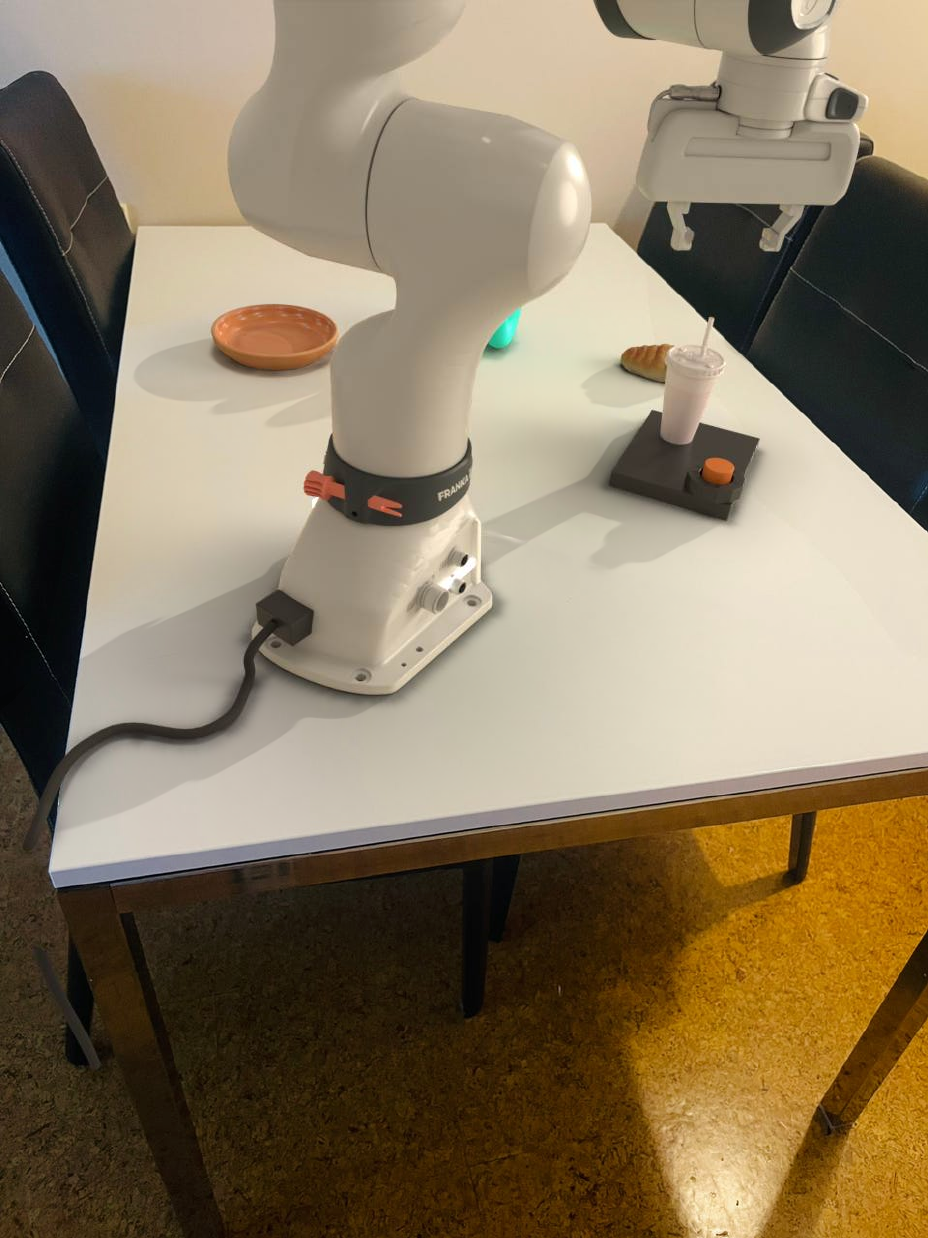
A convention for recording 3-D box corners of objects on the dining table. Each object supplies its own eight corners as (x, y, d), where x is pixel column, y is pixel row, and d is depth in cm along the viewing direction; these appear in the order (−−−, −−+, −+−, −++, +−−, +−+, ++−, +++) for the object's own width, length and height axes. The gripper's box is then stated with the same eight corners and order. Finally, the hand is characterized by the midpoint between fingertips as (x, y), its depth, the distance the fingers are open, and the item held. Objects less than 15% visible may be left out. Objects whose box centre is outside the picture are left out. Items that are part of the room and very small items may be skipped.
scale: (729, 524, 92) (738, 496, 90) (607, 488, 96) (612, 460, 94) (759, 453, 104) (768, 426, 101) (648, 423, 107) (654, 397, 105)
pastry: (615, 375, 117) (621, 348, 114) (623, 355, 122) (628, 328, 119) (687, 389, 115) (694, 361, 113) (691, 367, 120) (698, 340, 118)
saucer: (349, 330, 122) (348, 309, 120) (323, 383, 110) (322, 360, 108) (234, 318, 122) (232, 297, 120) (196, 370, 110) (193, 347, 108)
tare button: (726, 488, 92) (730, 475, 91) (698, 480, 92) (702, 467, 91) (733, 475, 94) (736, 462, 93) (705, 467, 95) (708, 454, 94)
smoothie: (704, 454, 99) (738, 334, 90) (647, 445, 100) (674, 325, 90) (704, 426, 104) (736, 309, 95) (649, 418, 104) (675, 301, 95)
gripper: (667, 90, 74) (635, 259, 83) (886, 100, 78) (832, 261, 87) (643, 75, 79) (614, 236, 88) (850, 85, 83) (803, 239, 92)
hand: (724, 248), depth 88 cm, fingers open, 8 cm apart
